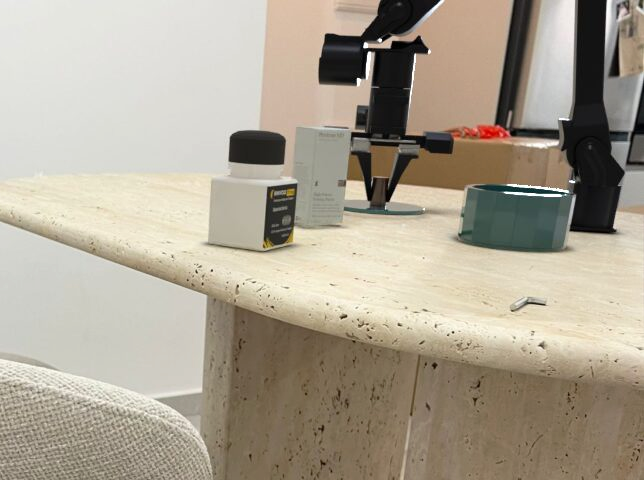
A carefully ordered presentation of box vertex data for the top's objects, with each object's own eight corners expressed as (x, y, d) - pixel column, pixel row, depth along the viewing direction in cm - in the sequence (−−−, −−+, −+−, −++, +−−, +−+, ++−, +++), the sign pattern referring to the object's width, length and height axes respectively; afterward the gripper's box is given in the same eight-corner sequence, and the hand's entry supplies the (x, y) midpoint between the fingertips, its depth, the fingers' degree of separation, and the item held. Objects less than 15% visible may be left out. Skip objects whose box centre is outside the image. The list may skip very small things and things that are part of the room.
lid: (419, 210, 145) (423, 176, 143) (428, 221, 133) (433, 184, 131) (330, 205, 147) (333, 170, 145) (331, 215, 134) (334, 178, 132)
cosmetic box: (307, 228, 119) (316, 127, 115) (285, 223, 123) (293, 125, 119) (344, 227, 123) (354, 128, 118) (321, 222, 126) (330, 126, 122)
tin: (552, 239, 121) (561, 187, 119) (576, 254, 109) (587, 198, 107) (452, 232, 122) (459, 181, 120) (465, 247, 111) (474, 191, 108)
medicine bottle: (263, 252, 100) (272, 133, 96) (206, 243, 104) (212, 129, 100) (293, 244, 106) (303, 132, 102) (238, 237, 110) (245, 128, 105)
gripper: (451, 91, 140) (436, 199, 146) (324, 85, 142) (314, 192, 147) (461, 91, 130) (445, 207, 135) (324, 84, 131) (314, 199, 137)
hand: (378, 201), depth 139 cm, fingers closed on lid, 2 cm apart
